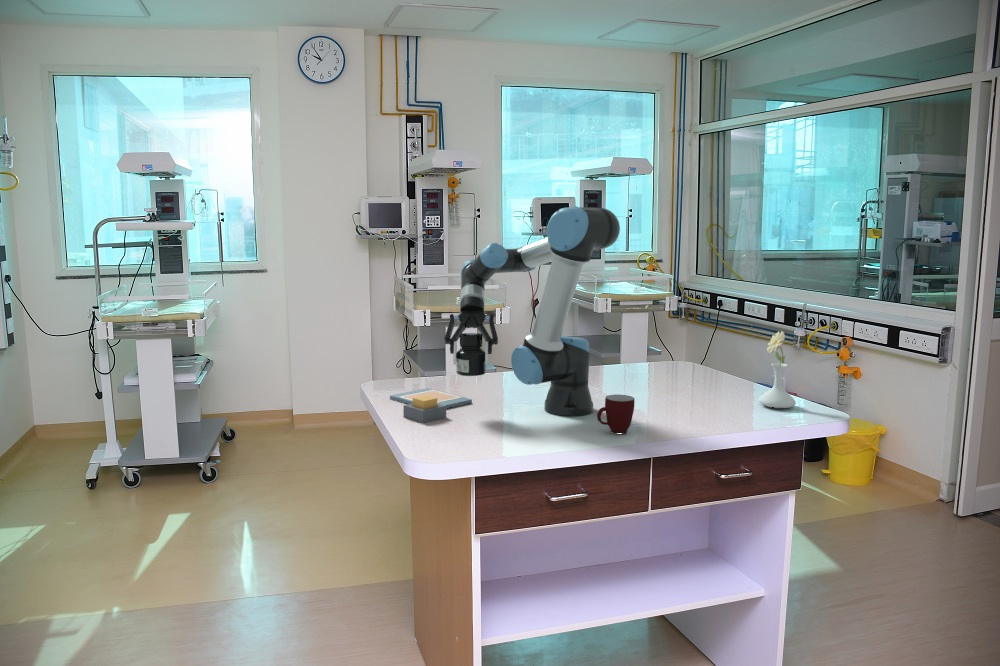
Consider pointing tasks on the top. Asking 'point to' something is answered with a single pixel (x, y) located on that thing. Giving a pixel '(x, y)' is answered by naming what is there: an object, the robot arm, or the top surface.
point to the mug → (617, 412)
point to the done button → (424, 402)
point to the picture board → (442, 397)
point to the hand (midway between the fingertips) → (470, 361)
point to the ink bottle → (470, 355)
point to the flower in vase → (777, 378)
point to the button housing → (424, 412)
